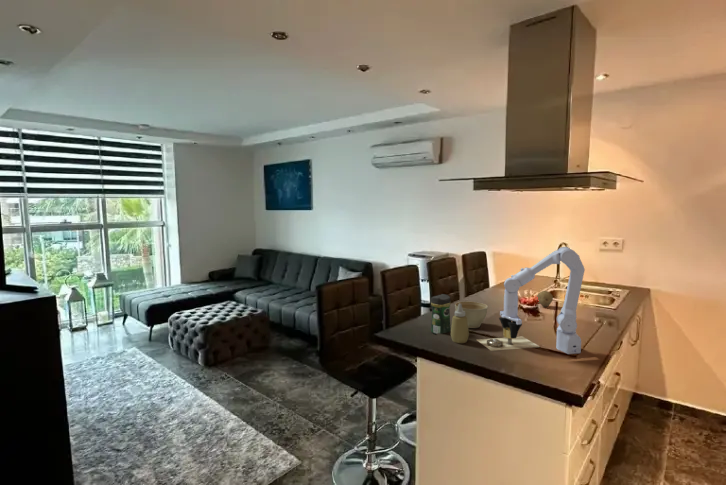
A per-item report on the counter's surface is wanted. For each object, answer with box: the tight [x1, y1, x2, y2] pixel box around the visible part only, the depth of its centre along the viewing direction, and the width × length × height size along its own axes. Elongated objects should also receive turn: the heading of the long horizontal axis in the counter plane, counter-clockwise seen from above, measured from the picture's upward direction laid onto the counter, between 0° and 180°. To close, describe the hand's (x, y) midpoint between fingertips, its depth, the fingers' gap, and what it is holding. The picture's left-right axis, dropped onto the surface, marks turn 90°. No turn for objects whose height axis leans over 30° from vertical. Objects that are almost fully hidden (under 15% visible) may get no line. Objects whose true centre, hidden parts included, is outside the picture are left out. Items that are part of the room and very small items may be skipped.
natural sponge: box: [536, 290, 554, 308], centre depth 242 cm, size 9×9×10 cm
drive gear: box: [487, 338, 503, 348], centre depth 176 cm, size 7×7×2 cm
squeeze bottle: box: [450, 304, 470, 344], centre depth 181 cm, size 8×8×18 cm
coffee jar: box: [430, 293, 451, 335], centre depth 197 cm, size 10×8×19 cm
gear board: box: [476, 335, 541, 352], centre depth 179 cm, size 14×23×4 cm, turn 100°
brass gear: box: [502, 327, 518, 339], centre depth 177 cm, size 6×6×4 cm
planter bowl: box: [454, 301, 489, 329], centre depth 207 cm, size 16×16×11 cm
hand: (509, 335), depth 177 cm, fingers closed on brass gear, 5 cm apart
